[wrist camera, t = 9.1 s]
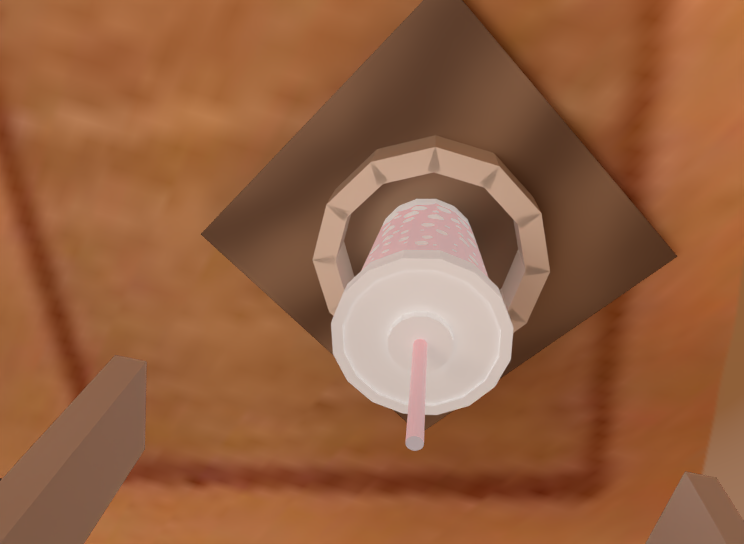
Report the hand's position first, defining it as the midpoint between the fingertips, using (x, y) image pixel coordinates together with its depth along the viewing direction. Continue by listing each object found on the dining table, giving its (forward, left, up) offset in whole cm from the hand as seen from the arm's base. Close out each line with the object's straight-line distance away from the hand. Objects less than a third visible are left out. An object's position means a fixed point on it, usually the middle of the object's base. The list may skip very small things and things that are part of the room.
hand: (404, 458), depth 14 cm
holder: (0, 0, -16) cm, 16 cm away
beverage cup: (0, 0, -15) cm, 15 cm away
